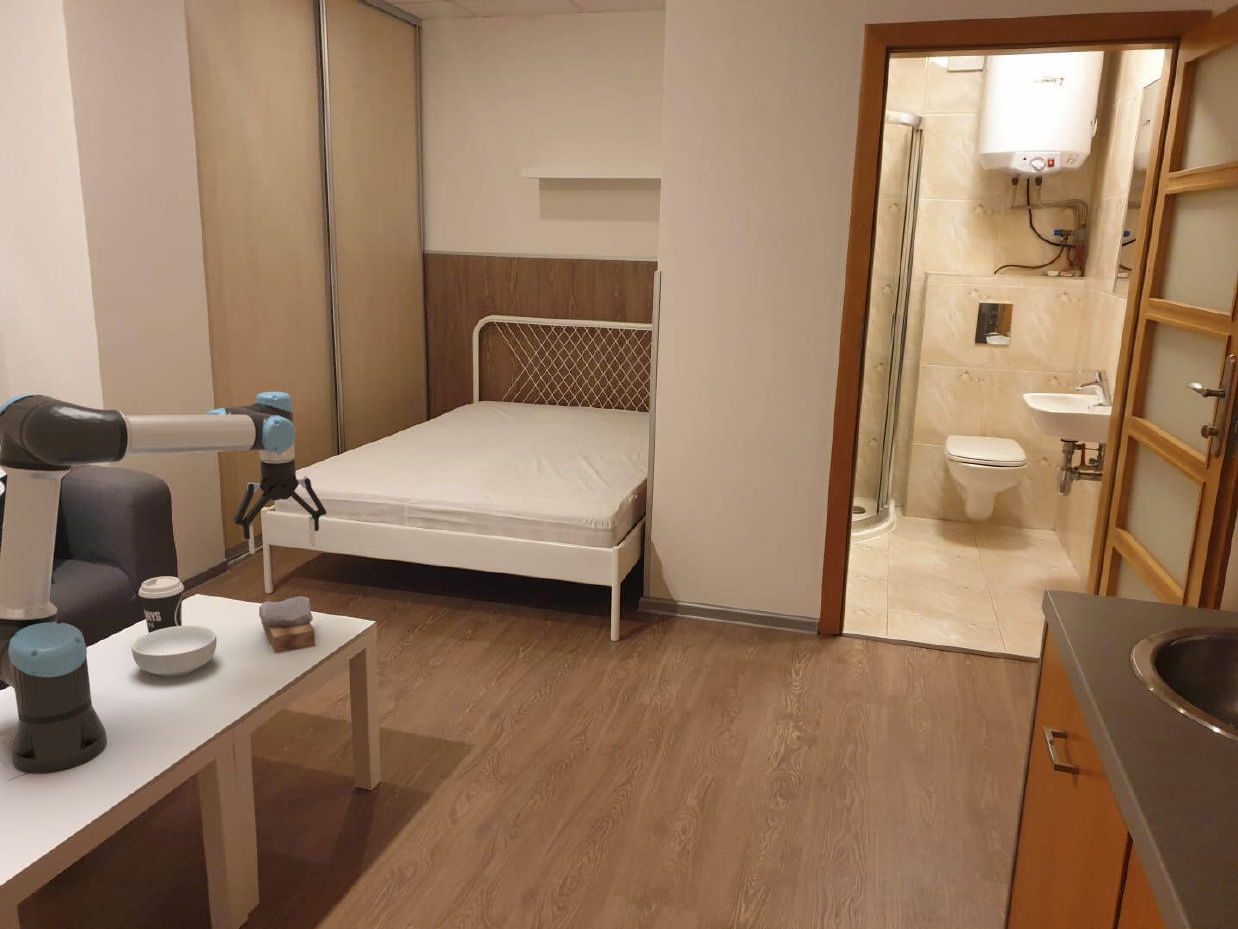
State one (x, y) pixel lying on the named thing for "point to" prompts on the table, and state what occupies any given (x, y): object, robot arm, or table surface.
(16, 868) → the table surface
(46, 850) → the table surface
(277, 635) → the walnut plinth
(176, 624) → the coffee cup
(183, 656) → the cereal bowl
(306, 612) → the stone block
